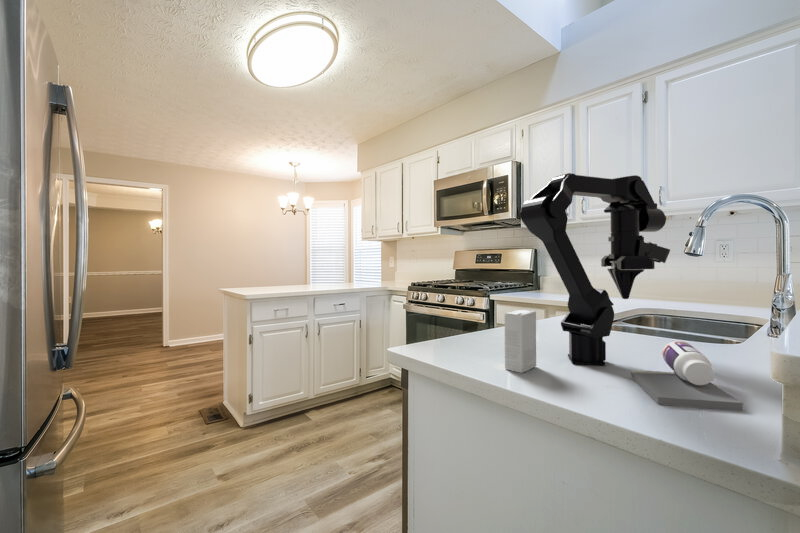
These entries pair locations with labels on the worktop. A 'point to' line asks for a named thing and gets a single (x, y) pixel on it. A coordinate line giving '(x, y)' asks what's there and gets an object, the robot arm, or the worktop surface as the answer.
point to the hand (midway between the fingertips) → (625, 298)
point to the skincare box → (520, 340)
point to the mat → (683, 391)
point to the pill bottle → (688, 363)
